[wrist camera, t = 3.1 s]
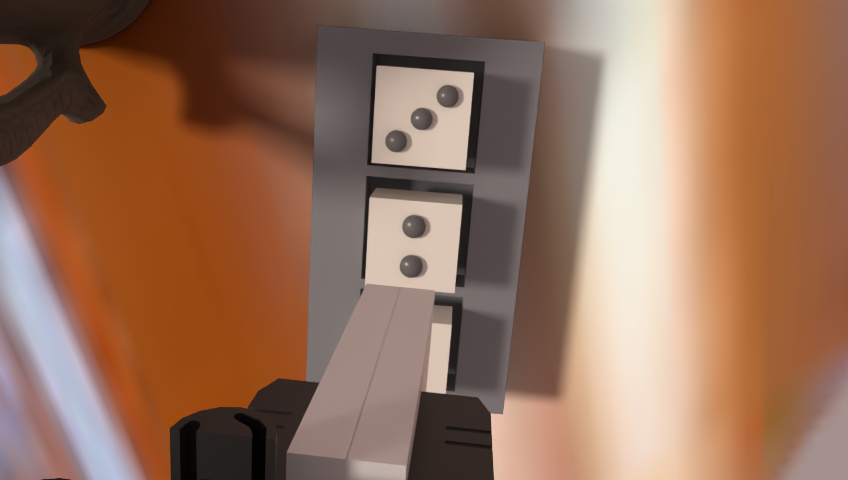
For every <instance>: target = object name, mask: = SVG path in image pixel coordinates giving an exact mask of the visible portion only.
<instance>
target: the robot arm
mask: <svg viewBox="0 0 848 480" xmlns="http://www.w3.org/2000/svg"><path fill="white" fill-rule="evenodd" d="M434 298H435V290H427V289H417V288H406V287H396V286H386V285H376V284H366V286H365V288H364V290H363V292H362V294H361V297H360V299H359V301H358V303H357V305H356V307H355V309H354V311H353V313H352V316H351V318H350V320H349V322H348V324H347V326H346V328H345V330H344V332H343V335H342V337H341V339H340V341H339V343H338V345H337V347H336V349H335V351H334V354H333V356H332V358H331V360H330V362H329V364H328V366H327V368H326V370H325V373H324V375H323V377H322V379H321V381H320V383H317V382H308V381H298V380H289V379H277V380H276V381H274V382H272V383H271V384H269V385H267V386H266V387H264V388H263V389H261V390H259V391H258V392H257V394H256V396H255V397H254V399H253V400H252V402H251V403H250V405H249V406H248V409H246V408H241V407H218V408H213V409H208V410H202V411H199V412H196V413H194V414H191V415H189V416H187V417H184V418H182V419H181V420H180V421H178V422H177V423H176V424H175V425H173V426H172V427H171V428H170V456H171V480H494V473H493V452H492V435H491V413H490V412H489V411H488V410H487V408H486V407H485V406H484V404H483V403H482V402H481V401H480V399H479V398H478V397H471V396H461V395H452V394H442V393H433V392H426V389H427V377H428V366H429V355H430V343H431V332H432V321H433V309H434ZM43 480H69V479H62V478H56V479H43Z"/></svg>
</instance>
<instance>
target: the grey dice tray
mask: <svg viewBox="0 0 848 480" xmlns="http://www.w3.org/2000/svg"><path fill="white" fill-rule="evenodd" d="M544 46H545V42H534V41H521V40H507V39H494V38H480V37H467V36H453V35H440V34H426V33H412V32H399V31H385V30H372V29H358V28H345V27H331V26H318V25H317V57H316V89H315V120H314V152H313V184H312V215H311V247H310V279H309V310H308V342H307V374H306V381H308V382H317V383H320V381H321V379H322V377H323V375H324V373H325V370H326V368H327V366H328V364H329V362H330V360H331V358H332V356H333V354H334V351H335V349H336V347H337V345H338V343H339V341H340V339H341V337H342V335H343V332H344V330H345V328H346V326H347V324H348V322H349V320H350V318H351V316H352V313H353V311H354V309H355V307H356V305H357V303H358V301H359V299H360V297H361V294H362V292H363V290H364V288H365V274H366V256H367V237H368V218H369V200H370V196H371V195H372V193H373V192H374V190H375V189H376V188H387V189H399V190H411V191H424V192H436V193H448V194H461V195H462V215H461V227H460V238H459V249H458V260H457V272H456V283H455V293H446V292H435V298H434V305H441V306H452V328H451V339H450V350H449V362H448V373H447V384H446V394H452V395H461V396H471V397H478V398H479V399H480V401H481V402H482V403H483V404H484V406H485V407H486V408H487V410H488V411H489V412H490V413H495V414H503V408H504V400H505V391H506V382H507V373H508V364H509V355H510V347H511V338H512V329H513V320H514V311H515V302H516V294H517V285H518V276H519V267H520V258H521V249H522V240H523V232H524V223H525V214H526V205H527V196H528V187H529V179H530V170H531V161H532V152H533V143H534V134H535V126H536V117H537V108H538V99H539V90H540V81H541V72H542V64H543V55H544ZM377 66H394V67H407V68H421V69H434V70H447V71H460V72H473V73H474V80H473V91H472V103H471V114H470V125H469V136H468V148H467V159H466V170H456V169H444V168H432V167H419V166H407V165H394V164H382V163H371V162H372V143H373V125H374V106H375V87H376V68H377Z"/></svg>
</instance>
